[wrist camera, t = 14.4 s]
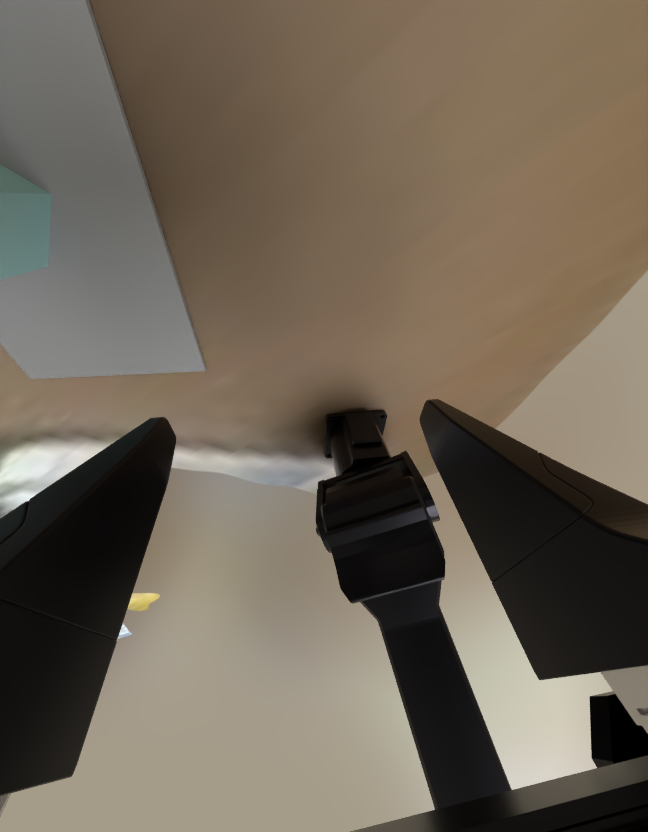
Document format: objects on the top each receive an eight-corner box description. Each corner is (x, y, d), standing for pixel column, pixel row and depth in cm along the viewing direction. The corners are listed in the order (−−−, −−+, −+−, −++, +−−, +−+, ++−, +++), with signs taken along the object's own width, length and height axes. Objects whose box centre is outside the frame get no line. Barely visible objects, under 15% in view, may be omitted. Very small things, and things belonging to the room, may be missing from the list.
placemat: (206, 368, 21) (205, 371, 21) (34, 376, 20) (30, 379, 19) (71, -54, 9) (64, -62, 9) (-375, -109, 8) (-402, -122, 8)
